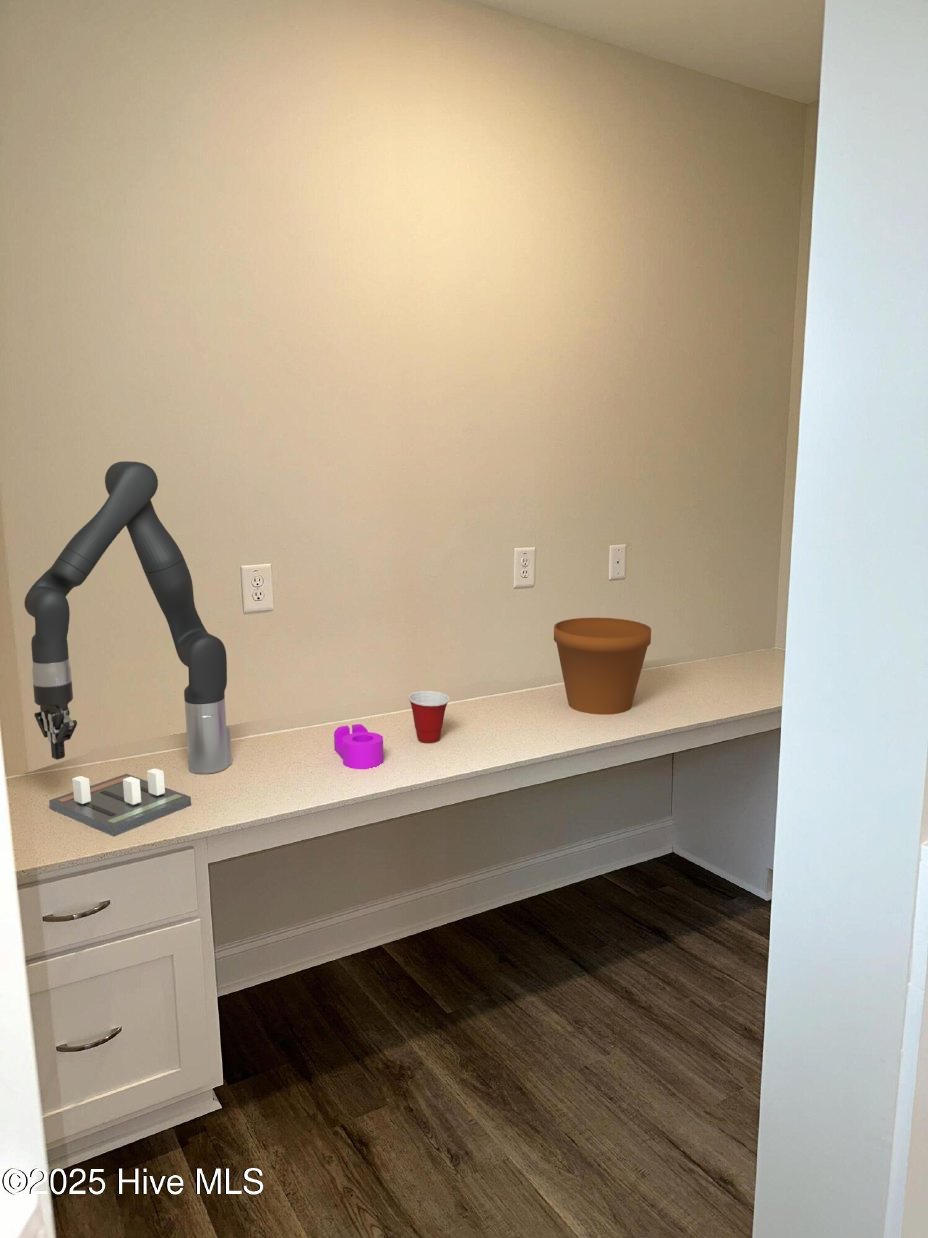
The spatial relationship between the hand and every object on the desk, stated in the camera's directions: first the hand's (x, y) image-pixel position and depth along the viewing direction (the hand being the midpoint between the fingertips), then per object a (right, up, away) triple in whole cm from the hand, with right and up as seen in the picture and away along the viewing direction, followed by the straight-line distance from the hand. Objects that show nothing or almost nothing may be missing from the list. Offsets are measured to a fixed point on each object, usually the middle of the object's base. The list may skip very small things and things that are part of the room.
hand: (58, 758), depth 198 cm
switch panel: (+13, -11, 0) cm, 17 cm away
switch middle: (+17, -9, -3) cm, 19 cm away
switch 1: (+6, -9, -2) cm, 11 cm away
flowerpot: (+128, +4, +74) cm, 148 cm away
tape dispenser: (+62, -5, +30) cm, 69 cm away
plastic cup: (+79, -2, +43) cm, 90 cm away
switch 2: (+21, -8, +2) cm, 22 cm away
